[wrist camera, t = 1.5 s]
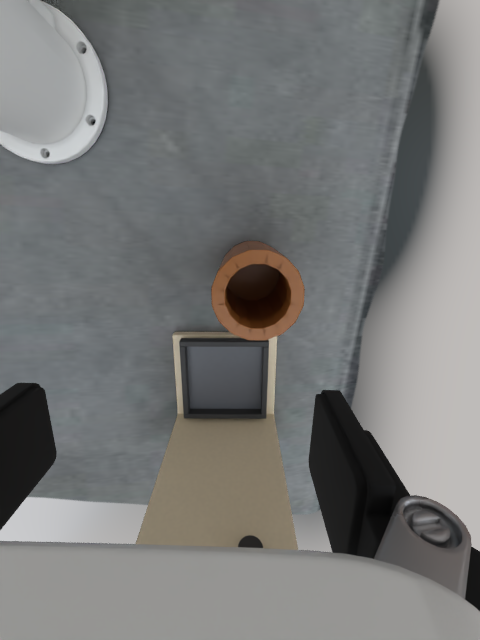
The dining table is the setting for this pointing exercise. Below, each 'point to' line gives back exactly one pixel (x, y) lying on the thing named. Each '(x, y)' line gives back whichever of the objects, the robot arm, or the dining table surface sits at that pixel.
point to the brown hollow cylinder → (257, 292)
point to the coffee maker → (222, 450)
